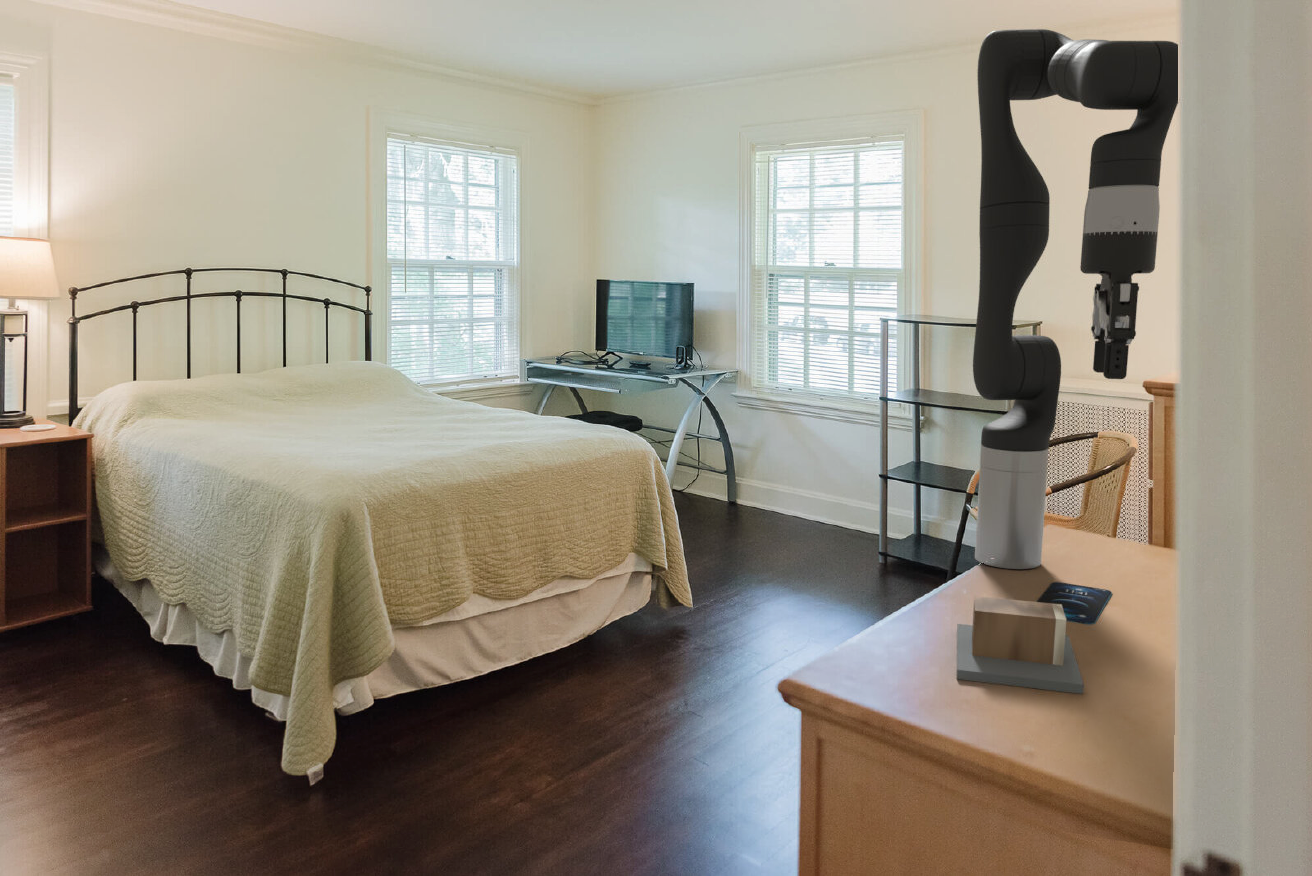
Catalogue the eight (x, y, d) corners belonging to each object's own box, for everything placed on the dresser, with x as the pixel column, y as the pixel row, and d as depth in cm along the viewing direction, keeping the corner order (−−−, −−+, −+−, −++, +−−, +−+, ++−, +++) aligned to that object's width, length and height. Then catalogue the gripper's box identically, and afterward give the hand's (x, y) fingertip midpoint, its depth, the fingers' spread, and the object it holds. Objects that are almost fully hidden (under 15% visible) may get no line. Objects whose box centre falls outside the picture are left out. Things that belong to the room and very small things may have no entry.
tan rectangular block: (974, 596, 104) (1061, 604, 101) (971, 638, 105) (1058, 648, 102) (974, 610, 99) (1066, 619, 97) (972, 655, 100) (1063, 665, 98)
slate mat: (957, 631, 110) (957, 623, 110) (1067, 643, 106) (1068, 635, 106) (956, 678, 97) (957, 669, 97) (1082, 694, 93) (1083, 684, 93)
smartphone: (1026, 612, 116) (1052, 580, 128) (1026, 617, 116) (1052, 584, 128) (1094, 624, 112) (1113, 590, 124) (1093, 629, 112) (1113, 594, 124)
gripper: (1171, 225, 96) (1157, 382, 99) (1145, 233, 110) (1134, 371, 112) (1091, 227, 98) (1080, 380, 101) (1075, 234, 112) (1066, 369, 114)
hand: (1108, 375), depth 107 cm, fingers open, 8 cm apart
